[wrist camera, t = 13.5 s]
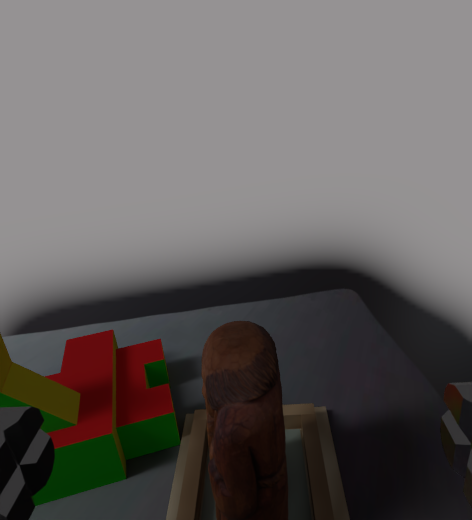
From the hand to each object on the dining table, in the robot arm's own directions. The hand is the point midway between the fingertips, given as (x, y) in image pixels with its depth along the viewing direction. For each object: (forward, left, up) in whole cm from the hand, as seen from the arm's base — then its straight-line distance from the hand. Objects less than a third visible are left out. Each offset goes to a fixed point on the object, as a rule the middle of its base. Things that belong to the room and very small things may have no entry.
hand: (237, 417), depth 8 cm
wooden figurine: (-2, +19, -29) cm, 35 cm away
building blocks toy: (-24, +30, -30) cm, 49 cm away
